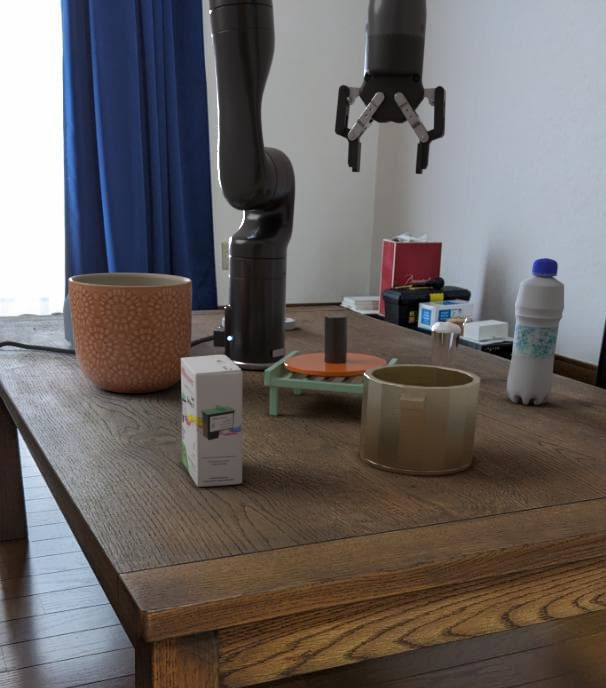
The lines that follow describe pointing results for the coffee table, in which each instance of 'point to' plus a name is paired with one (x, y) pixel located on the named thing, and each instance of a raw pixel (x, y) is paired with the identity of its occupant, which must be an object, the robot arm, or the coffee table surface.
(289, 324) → the game controller
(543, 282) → the bottle
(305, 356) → the lid
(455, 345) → the milkshake
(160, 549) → the coffee table surface
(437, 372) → the pot
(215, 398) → the ink box
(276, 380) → the rack
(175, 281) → the planter
